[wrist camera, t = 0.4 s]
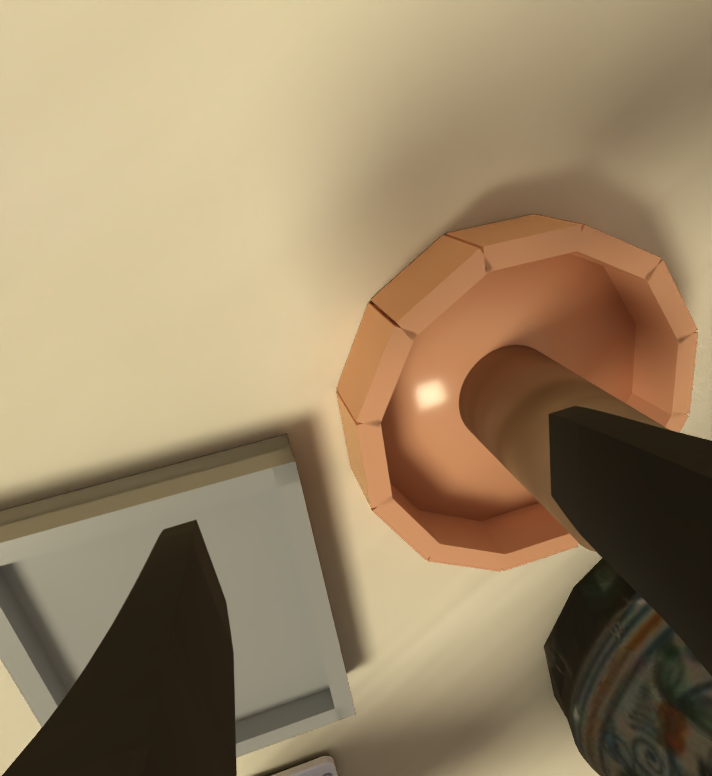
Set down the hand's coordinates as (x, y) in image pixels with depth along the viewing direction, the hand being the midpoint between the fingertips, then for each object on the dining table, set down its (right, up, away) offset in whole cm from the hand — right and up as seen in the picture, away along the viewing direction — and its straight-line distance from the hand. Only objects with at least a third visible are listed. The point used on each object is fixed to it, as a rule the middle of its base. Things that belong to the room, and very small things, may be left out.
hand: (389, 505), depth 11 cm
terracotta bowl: (+5, +2, +11) cm, 13 cm away
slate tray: (-7, -7, +12) cm, 15 cm away
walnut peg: (+5, +2, +11) cm, 12 cm away
